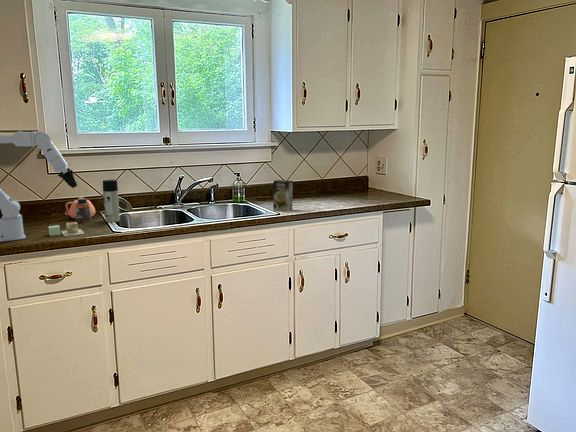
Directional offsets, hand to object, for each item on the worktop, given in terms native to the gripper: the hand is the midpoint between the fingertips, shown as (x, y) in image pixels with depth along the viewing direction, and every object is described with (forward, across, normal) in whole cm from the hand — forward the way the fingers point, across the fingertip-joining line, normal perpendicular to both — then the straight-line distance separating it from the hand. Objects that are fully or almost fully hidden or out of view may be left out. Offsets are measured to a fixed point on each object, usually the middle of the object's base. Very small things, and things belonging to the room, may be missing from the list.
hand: (73, 186), depth 205 cm
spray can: (+26, +17, -7) cm, 32 cm away
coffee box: (+65, 0, -82) cm, 105 cm away
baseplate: (+17, 0, +11) cm, 20 cm away
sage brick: (+14, 0, +18) cm, 22 cm away
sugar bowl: (+20, +34, +4) cm, 39 cm away
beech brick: (+17, 0, +11) cm, 20 cm away
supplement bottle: (+20, +23, +4) cm, 31 cm away
